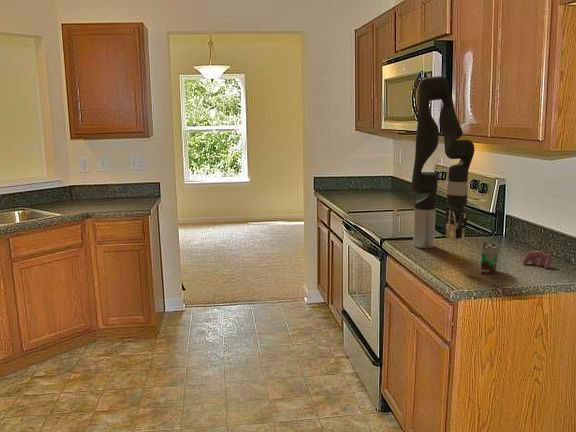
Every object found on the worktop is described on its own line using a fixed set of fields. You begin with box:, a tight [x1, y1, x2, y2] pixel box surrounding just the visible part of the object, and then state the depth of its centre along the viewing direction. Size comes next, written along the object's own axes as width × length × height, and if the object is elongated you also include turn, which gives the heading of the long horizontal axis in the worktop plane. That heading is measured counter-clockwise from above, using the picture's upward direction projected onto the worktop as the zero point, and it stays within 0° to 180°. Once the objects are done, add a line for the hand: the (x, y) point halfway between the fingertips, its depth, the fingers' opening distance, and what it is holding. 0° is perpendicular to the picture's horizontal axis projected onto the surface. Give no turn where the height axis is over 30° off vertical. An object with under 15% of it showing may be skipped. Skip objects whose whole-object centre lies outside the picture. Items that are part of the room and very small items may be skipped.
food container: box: [480, 241, 501, 275], centre depth 210 cm, size 12×6×10 cm, turn 158°
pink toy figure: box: [522, 249, 553, 270], centre depth 218 cm, size 10×5×7 cm, turn 44°
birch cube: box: [445, 223, 466, 240], centre depth 214 cm, size 5×5×5 cm
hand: (454, 236), depth 215 cm, fingers closed on birch cube, 5 cm apart
